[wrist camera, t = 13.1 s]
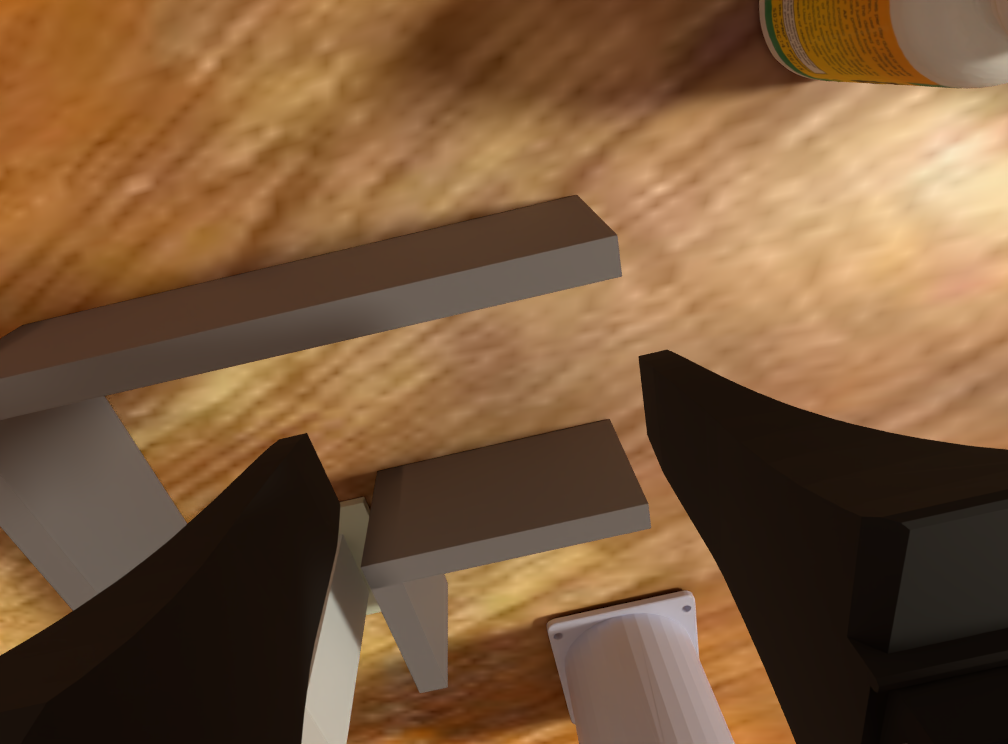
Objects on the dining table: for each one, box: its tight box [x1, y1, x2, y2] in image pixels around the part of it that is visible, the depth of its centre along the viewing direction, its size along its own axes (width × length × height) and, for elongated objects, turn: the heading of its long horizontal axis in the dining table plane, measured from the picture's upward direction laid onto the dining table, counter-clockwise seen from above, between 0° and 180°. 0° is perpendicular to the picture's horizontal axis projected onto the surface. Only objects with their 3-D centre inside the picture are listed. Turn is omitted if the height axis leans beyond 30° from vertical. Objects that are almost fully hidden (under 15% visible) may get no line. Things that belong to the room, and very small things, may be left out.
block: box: [301, 534, 369, 744], centre depth 24 cm, size 4×4×8 cm
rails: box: [0, 195, 651, 693], centre depth 22 cm, size 18×21×6 cm
